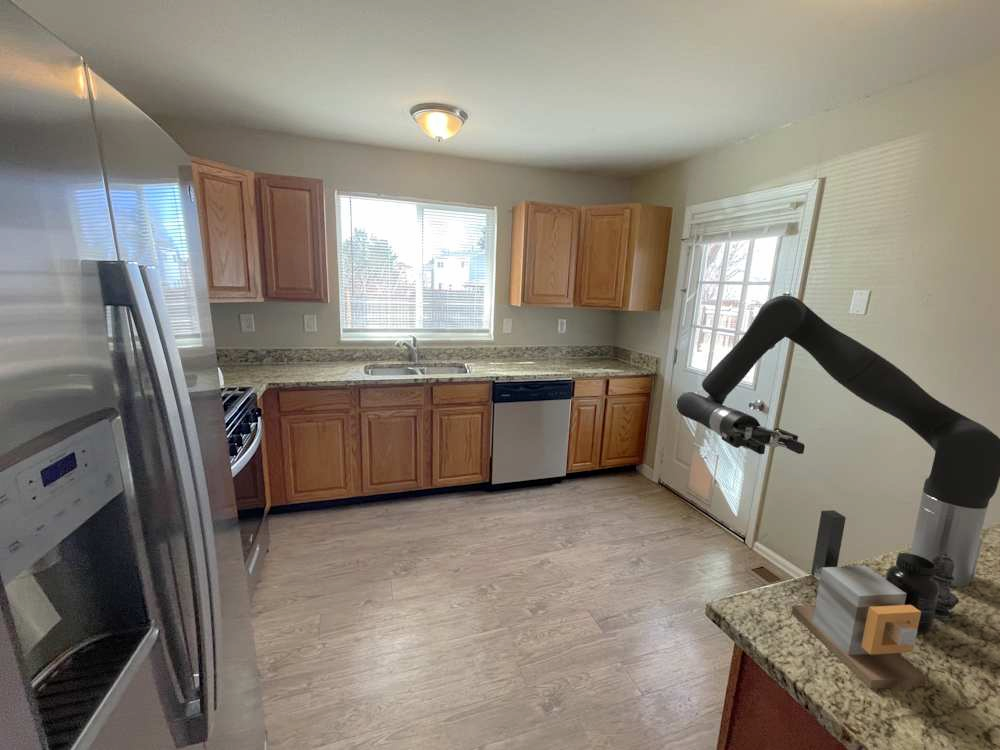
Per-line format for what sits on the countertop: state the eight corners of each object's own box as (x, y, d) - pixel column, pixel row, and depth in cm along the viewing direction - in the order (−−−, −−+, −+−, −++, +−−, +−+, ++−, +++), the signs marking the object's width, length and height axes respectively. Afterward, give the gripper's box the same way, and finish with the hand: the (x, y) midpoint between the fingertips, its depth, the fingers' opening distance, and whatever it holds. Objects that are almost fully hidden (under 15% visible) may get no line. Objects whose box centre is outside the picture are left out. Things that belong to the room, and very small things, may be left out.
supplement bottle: (925, 616, 78) (938, 557, 76) (935, 640, 72) (950, 578, 70) (876, 601, 82) (887, 544, 80) (882, 623, 76) (895, 563, 74)
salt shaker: (964, 624, 76) (979, 564, 74) (926, 618, 77) (939, 559, 75) (938, 601, 82) (951, 545, 80) (903, 596, 83) (914, 541, 81)
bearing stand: (836, 610, 79) (847, 551, 77) (925, 685, 64) (941, 614, 62) (791, 612, 78) (800, 553, 76) (870, 688, 63) (884, 617, 61)
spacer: (902, 644, 66) (910, 604, 65) (912, 652, 65) (921, 611, 64) (861, 646, 66) (868, 606, 64) (870, 654, 64) (878, 614, 63)
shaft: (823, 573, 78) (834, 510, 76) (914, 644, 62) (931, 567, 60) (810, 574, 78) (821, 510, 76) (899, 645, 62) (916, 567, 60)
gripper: (707, 410, 101) (752, 432, 85) (763, 410, 102) (818, 431, 86) (703, 440, 102) (747, 467, 86) (759, 440, 104) (812, 466, 88)
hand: (783, 449), depth 86 cm, fingers open, 8 cm apart
